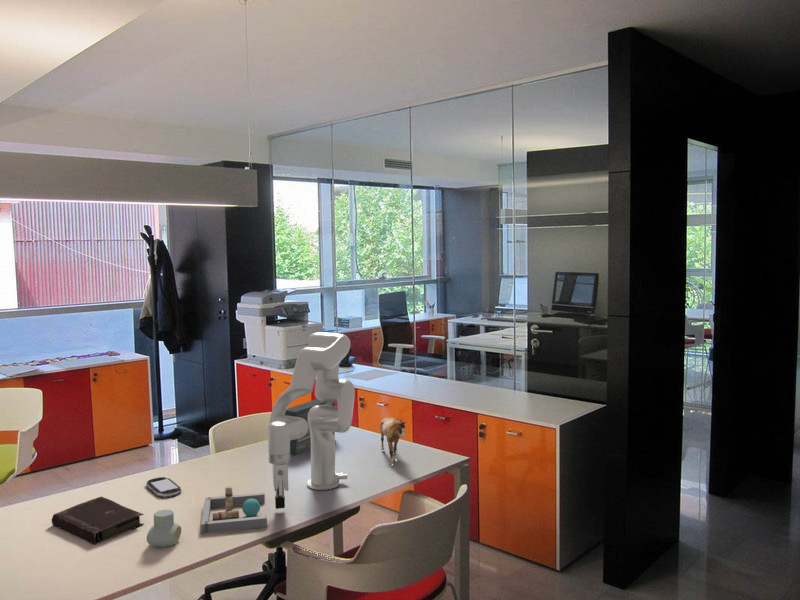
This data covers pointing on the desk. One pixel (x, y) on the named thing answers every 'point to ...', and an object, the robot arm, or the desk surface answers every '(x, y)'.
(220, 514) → the front pin
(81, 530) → the diary
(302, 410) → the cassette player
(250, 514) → the ball
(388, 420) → the horse figurine
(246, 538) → the desk surface
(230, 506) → the back pin
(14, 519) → the desk surface
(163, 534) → the air freshener
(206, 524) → the pin pen
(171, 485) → the gaming console
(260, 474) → the desk surface
